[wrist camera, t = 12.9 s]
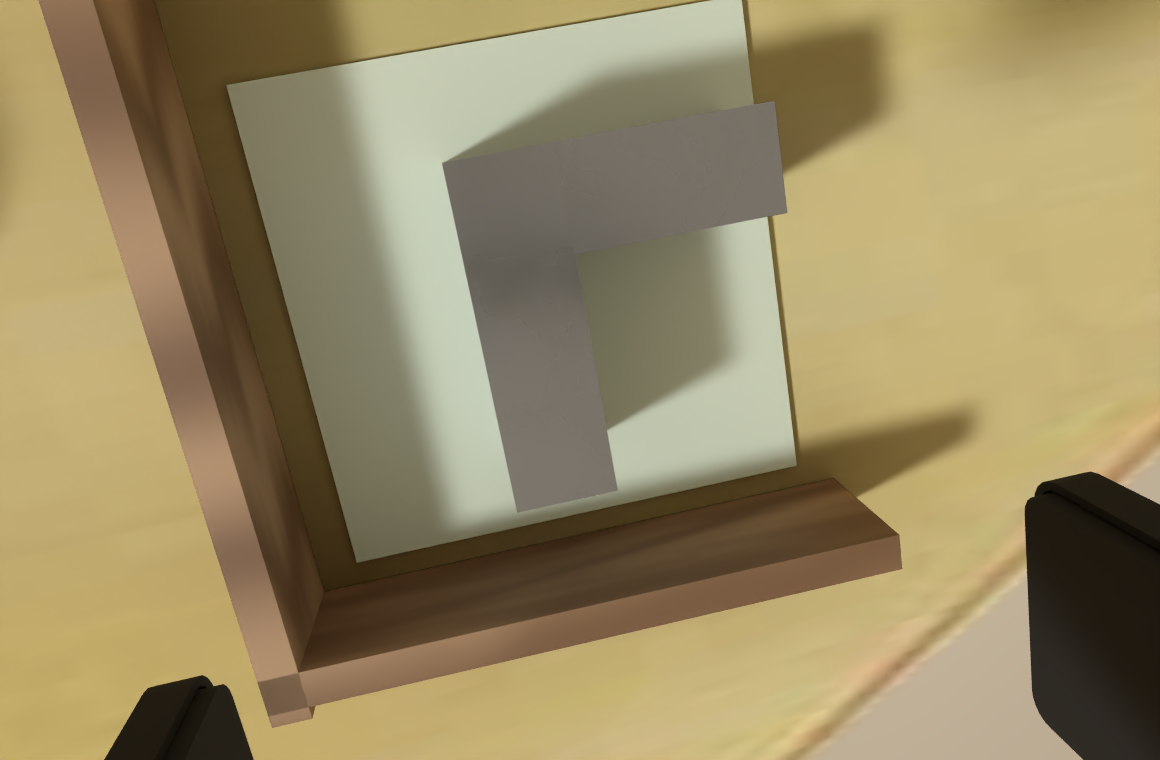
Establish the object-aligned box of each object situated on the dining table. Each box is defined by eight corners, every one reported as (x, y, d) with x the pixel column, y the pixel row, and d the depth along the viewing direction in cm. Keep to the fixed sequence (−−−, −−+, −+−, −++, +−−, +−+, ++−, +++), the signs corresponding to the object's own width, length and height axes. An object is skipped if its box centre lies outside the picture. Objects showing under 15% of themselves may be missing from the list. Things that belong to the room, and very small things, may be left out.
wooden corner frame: (91, -63, 25) (1, -116, 20) (764, -170, 26) (832, -243, 22) (301, 639, 31) (271, 727, 26) (838, 517, 32) (902, 580, 28)
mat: (227, 85, 26) (226, 84, 26) (739, -4, 27) (740, -5, 27) (357, 560, 30) (357, 562, 30) (794, 463, 32) (796, 465, 32)
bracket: (445, 161, 27) (441, 162, 23) (721, 110, 28) (774, 100, 23) (508, 455, 30) (517, 512, 25) (758, 402, 31) (813, 447, 26)
